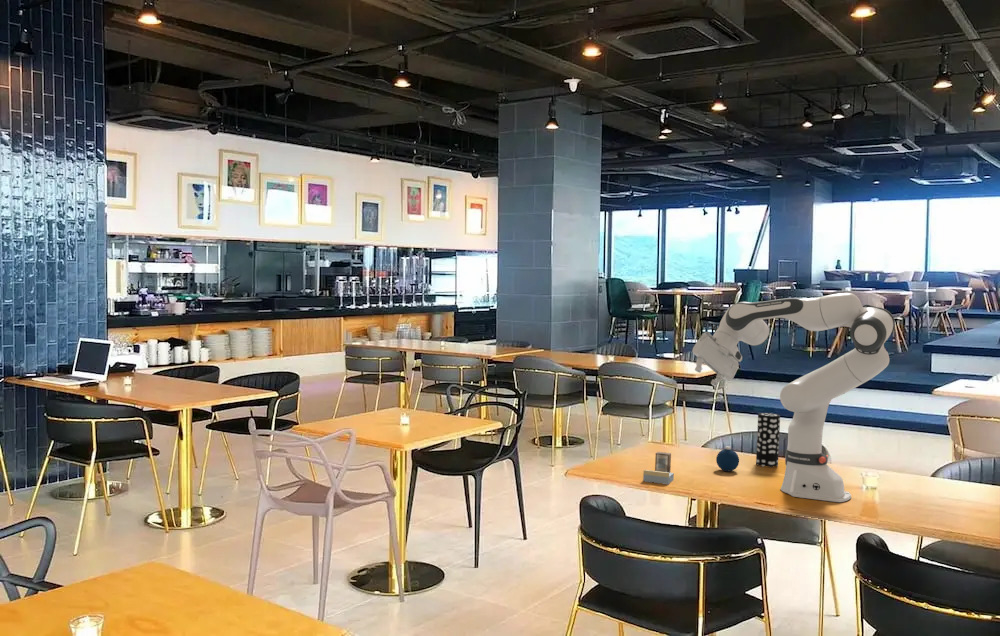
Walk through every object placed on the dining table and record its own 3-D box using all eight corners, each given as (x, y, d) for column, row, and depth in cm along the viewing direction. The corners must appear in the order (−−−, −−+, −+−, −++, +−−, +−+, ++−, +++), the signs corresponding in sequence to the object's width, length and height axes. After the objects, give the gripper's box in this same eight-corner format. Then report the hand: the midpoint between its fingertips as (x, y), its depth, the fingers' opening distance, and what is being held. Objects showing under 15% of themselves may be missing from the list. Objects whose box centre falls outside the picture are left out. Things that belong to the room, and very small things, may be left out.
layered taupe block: (670, 474, 310) (671, 453, 310) (668, 476, 307) (668, 454, 307) (656, 473, 312) (657, 451, 312) (654, 474, 309) (655, 453, 309)
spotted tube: (773, 468, 326) (775, 417, 326) (752, 464, 331) (755, 414, 331) (781, 464, 333) (783, 414, 332) (760, 461, 338) (762, 412, 337)
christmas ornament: (736, 469, 323) (737, 443, 322) (740, 474, 314) (741, 447, 314) (714, 468, 324) (715, 442, 323) (717, 472, 315) (718, 446, 315)
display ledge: (673, 479, 302) (673, 468, 301) (668, 484, 294) (668, 473, 294) (648, 476, 305) (649, 466, 305) (643, 481, 298) (643, 470, 298)
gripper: (711, 330, 291) (693, 364, 288) (745, 360, 301) (728, 393, 298) (698, 328, 297) (681, 362, 294) (732, 358, 306) (715, 391, 303)
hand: (705, 378), depth 296 cm, fingers open, 8 cm apart
